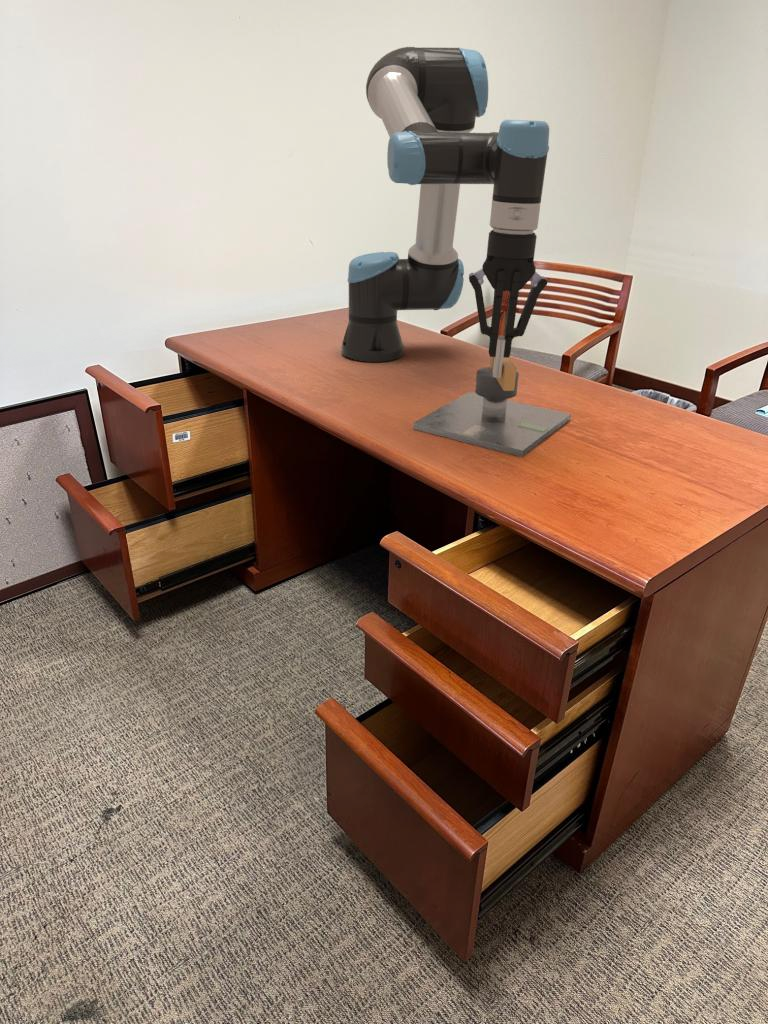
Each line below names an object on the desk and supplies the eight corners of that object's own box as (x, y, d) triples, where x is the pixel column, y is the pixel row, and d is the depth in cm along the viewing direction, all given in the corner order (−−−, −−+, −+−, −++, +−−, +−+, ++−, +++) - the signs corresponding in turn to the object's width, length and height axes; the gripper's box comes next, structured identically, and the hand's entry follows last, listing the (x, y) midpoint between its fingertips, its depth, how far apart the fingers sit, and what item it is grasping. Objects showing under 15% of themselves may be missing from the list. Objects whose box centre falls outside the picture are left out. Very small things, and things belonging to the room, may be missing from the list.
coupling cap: (472, 386, 139) (475, 345, 136) (511, 385, 140) (515, 345, 136) (485, 411, 127) (488, 367, 123) (528, 411, 127) (533, 367, 124)
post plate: (469, 397, 152) (471, 369, 150) (570, 419, 142) (574, 390, 139) (413, 428, 136) (414, 398, 133) (521, 457, 126) (525, 424, 123)
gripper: (473, 231, 113) (459, 379, 124) (557, 235, 112) (536, 384, 123) (471, 225, 120) (459, 366, 131) (551, 229, 119) (532, 370, 130)
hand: (496, 375), depth 127 cm, fingers closed
